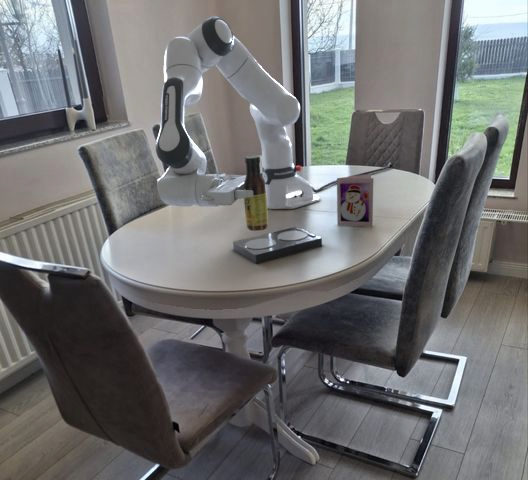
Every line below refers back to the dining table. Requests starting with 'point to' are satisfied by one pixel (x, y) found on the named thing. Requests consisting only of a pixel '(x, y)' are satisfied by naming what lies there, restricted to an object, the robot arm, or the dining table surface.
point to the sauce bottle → (255, 195)
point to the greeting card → (355, 200)
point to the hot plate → (277, 244)
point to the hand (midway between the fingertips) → (257, 189)
